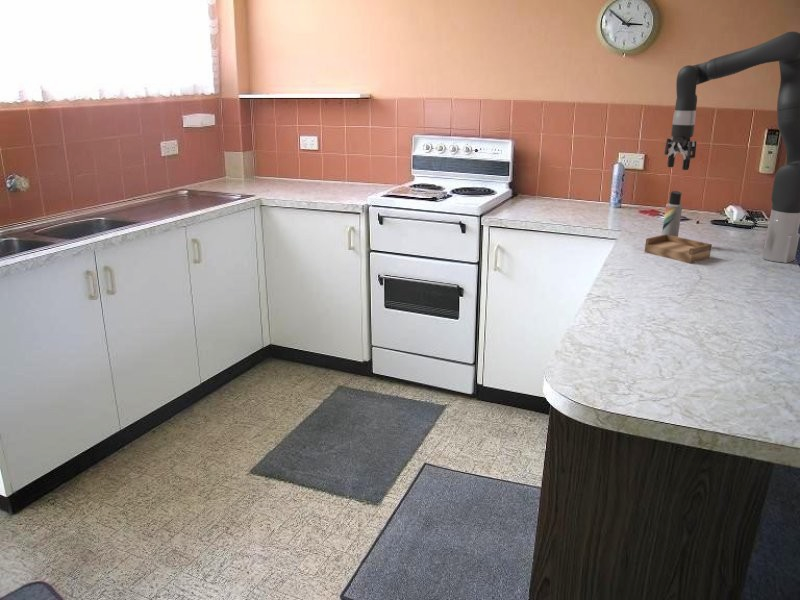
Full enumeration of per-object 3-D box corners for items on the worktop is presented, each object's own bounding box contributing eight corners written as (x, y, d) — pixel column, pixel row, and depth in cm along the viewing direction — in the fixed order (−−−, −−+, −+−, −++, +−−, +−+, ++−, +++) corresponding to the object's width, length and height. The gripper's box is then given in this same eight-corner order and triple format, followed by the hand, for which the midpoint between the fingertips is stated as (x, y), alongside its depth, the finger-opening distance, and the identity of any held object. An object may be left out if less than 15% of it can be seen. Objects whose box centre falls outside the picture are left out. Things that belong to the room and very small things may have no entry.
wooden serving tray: (709, 258, 234) (711, 244, 232) (690, 263, 227) (692, 249, 225) (663, 247, 247) (665, 234, 246) (644, 252, 241) (646, 238, 239)
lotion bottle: (674, 242, 255) (681, 190, 248) (678, 246, 249) (686, 193, 243) (658, 242, 255) (666, 190, 249) (662, 245, 250) (670, 192, 243)
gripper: (705, 124, 237) (699, 170, 242) (679, 122, 250) (674, 166, 255) (687, 124, 235) (681, 171, 240) (662, 122, 248) (657, 166, 253)
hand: (677, 168), depth 247 cm, fingers open, 8 cm apart
